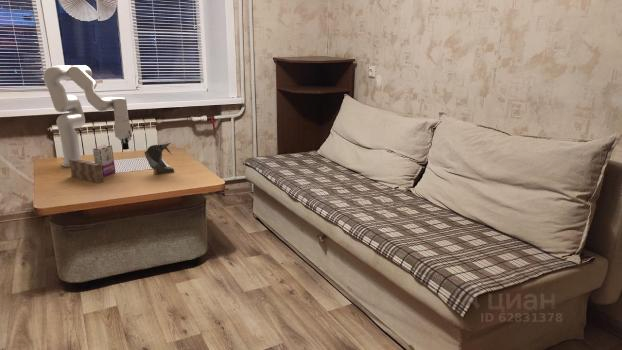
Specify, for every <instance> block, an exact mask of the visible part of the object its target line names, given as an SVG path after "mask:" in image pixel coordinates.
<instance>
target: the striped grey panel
mask: <svg viewBox="0 0 622 350" xmlns="http://www.w3.org/2000/svg"><path fill="white" fill-rule="evenodd" d="M69 163H70V167H69V168H70V175H71V177H73V178H75V179H80V180H84V181H88V182H92V183H96V184H100V183H104V180H103V179H104V177H102V169H101V164H97V163H95V162H92V161H88V160H84V159H83V160H82V159H81V160H79V159H70V160H69Z"/></svg>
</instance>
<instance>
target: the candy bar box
mask: <svg viewBox="0 0 622 350" xmlns="http://www.w3.org/2000/svg"><path fill="white" fill-rule="evenodd" d="M92 152H93V159H94V163H97V164H101V169H102V177H103V178H104V177H107V176H109V175H111V174H114V173H116V165H115V159H114V151H113V145H112V144H103V145H101V146H97V147H94V148H92Z"/></svg>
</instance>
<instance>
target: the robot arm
mask: <svg viewBox="0 0 622 350" xmlns="http://www.w3.org/2000/svg"><path fill="white" fill-rule="evenodd" d="M92 76H93V72H92V69H91V68H90V67H89V66H87V65H85V64H84V65H72V64H71V65H54V66H50V67H48V68H46V69H45V71H44V72H43V81H44V83H45V85H46V88H47V89H48V94H49V95H50V98H51V102H52V104H53V108H54V110H55V111H56V112H58V113H64V114H61V115H59V116H58V117H57V119H56V127H57V129H58V132H59V135H60V142H61V149H62V155H63V157H61V160H62V161H63V162H62V163H61V166H62V167H67V168H68V167H69V168H70V163H69V160H70V159H79V160H82V154H81V147H80V141H79V140H80V139H79V136H78V133H77V131H76V130H75V129H77V128H82V127H83V126H84V125H85V123H86V117H85V113H84V111H83V107H82V105H81V101H80V100H79V98H78V97H77V96H76V95H73V94H67V92H66V88H65V87H64V85H63V84H62V83H61V81H69V80H70V81H73V82H74V83H75V84H76V86H78V87H79V88H80V89H81V90H82V91H83V92H84V95H85V99H86V100H87V102H88V103H89V104H90V106H92V107H93V108H94V109H96V110H97V111H99V112H107V111H113V116H114V127H113V128H114V136H115V138H117V139H118V140H120V143H121V147H122V150H126V151H127V150H129V149H130V147H129V142H130V141H131V140H132V136H133V133H132V126H131V123H130V119H129V111H128V104H127V99H126V98H125V97H116V96H115V97H114V96H107V97H101V96H99V95H98V94H97V93H96V92H95V89H96V87H97V81H95V80H94V79H93V77H92ZM65 112H68V113H65Z"/></svg>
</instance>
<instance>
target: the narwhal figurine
mask: <svg viewBox="0 0 622 350" xmlns="http://www.w3.org/2000/svg"><path fill="white" fill-rule="evenodd" d="M170 144H171V142H169V143H162V144H153V145H149V147H147V150H146V151H144V156H145V159H146V160H147V161H148V164H149V167H150V168H151V169H153V175H159V174H163V173H164V174H165V173H174V172H175V169H174V167H173V168H172V167H170V166H167V164H166V163H165V162H164V161H163V160H162V159H163V152H164V150H166V151H167V152H168V153H169V154H170V155H171V156H173V154H172V153H171V151H170V150H169V148H168V146H169V145H170Z"/></svg>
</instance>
